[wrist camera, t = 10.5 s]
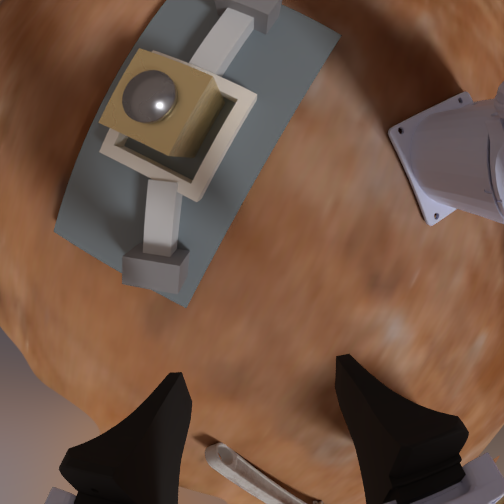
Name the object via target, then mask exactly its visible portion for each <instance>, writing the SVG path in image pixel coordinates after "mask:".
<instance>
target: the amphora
mask: <svg viewBox="0 0 504 504" xmlns="http://www.w3.org/2000/svg"><path fill="white" fill-rule="evenodd" d="M495 504H504V496H503V497H502V498H501V499H500V500H499V501H498V502H496V503H495Z"/></svg>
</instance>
